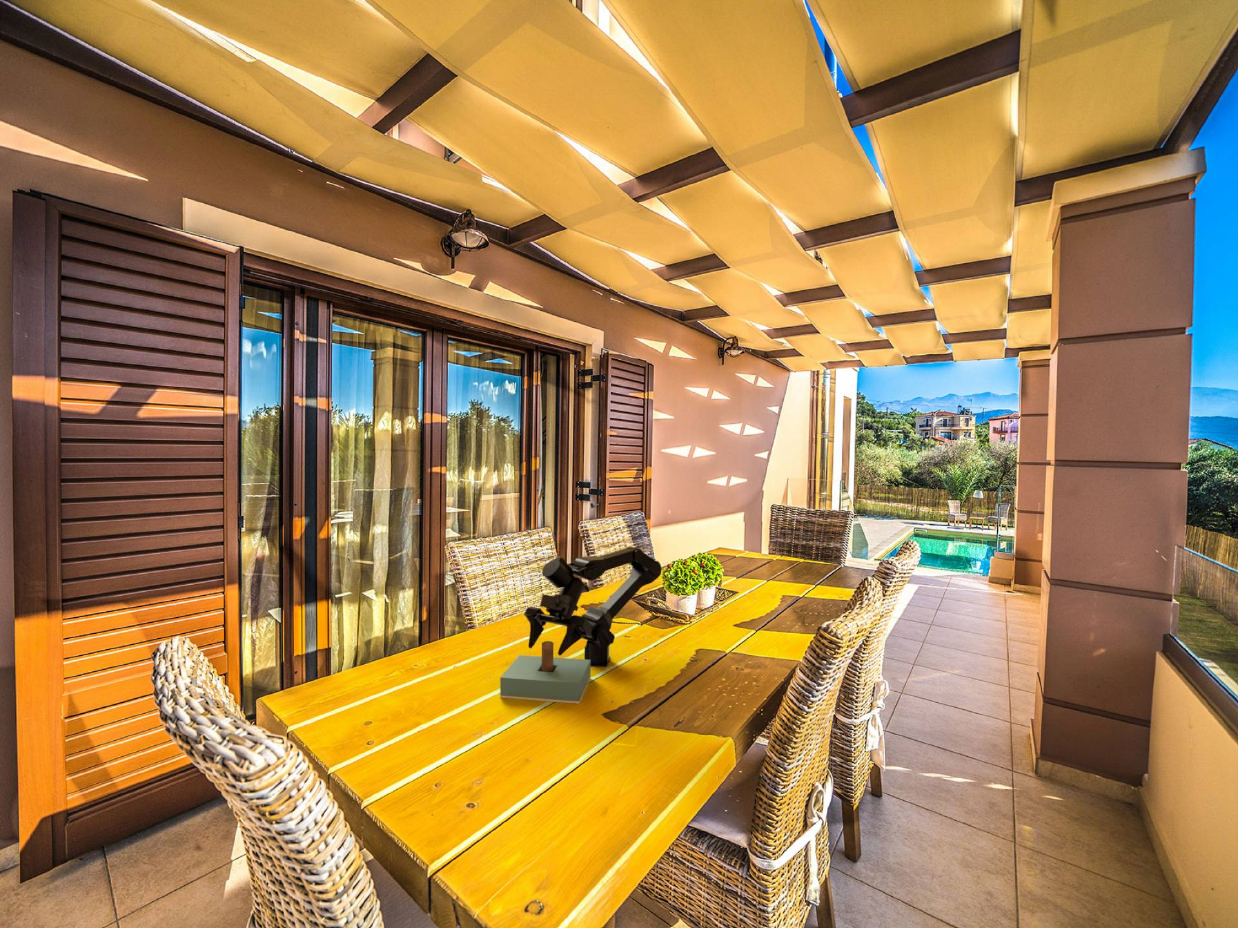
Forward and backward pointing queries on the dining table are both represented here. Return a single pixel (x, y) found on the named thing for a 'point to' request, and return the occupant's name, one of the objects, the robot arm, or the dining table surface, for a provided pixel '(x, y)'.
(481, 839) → the dining table surface
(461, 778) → the dining table surface
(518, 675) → the board
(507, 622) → the dining table surface
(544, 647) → the pin
